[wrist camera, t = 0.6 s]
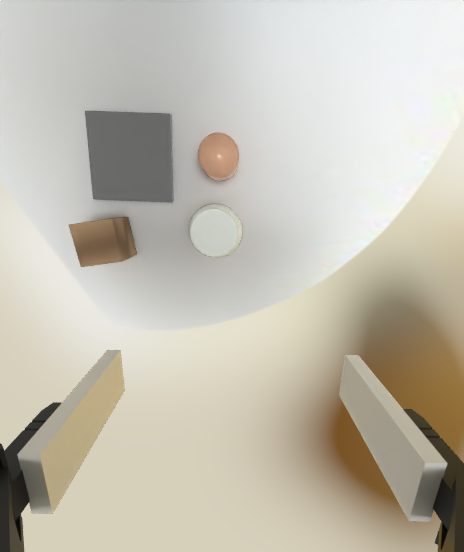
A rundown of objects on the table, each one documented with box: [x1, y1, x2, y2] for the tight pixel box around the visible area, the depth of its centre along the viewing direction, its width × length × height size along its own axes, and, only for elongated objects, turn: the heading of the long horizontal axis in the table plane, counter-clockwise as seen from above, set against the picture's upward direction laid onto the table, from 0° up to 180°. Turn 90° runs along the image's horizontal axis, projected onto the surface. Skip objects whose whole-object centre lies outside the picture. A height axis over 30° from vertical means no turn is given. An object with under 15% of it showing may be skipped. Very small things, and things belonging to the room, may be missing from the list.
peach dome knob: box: [198, 133, 239, 181], centre depth 31 cm, size 4×4×4 cm
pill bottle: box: [189, 204, 242, 257], centre depth 30 cm, size 6×6×10 cm
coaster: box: [85, 111, 173, 202], centre depth 32 cm, size 10×10×1 cm
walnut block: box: [69, 217, 137, 267], centre depth 33 cm, size 5×5×5 cm
